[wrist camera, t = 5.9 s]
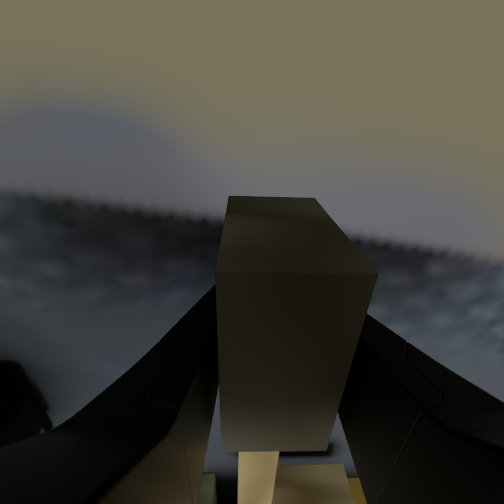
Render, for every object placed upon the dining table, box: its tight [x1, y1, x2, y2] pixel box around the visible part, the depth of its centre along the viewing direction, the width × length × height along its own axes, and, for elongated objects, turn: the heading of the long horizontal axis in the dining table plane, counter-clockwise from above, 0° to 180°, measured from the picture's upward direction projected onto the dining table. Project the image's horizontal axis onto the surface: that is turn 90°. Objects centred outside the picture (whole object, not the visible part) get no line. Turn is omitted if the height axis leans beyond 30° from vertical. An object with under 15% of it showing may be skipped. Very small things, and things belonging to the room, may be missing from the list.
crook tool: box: [215, 196, 378, 504], centre depth 12 cm, size 8×20×5 cm, turn 178°
